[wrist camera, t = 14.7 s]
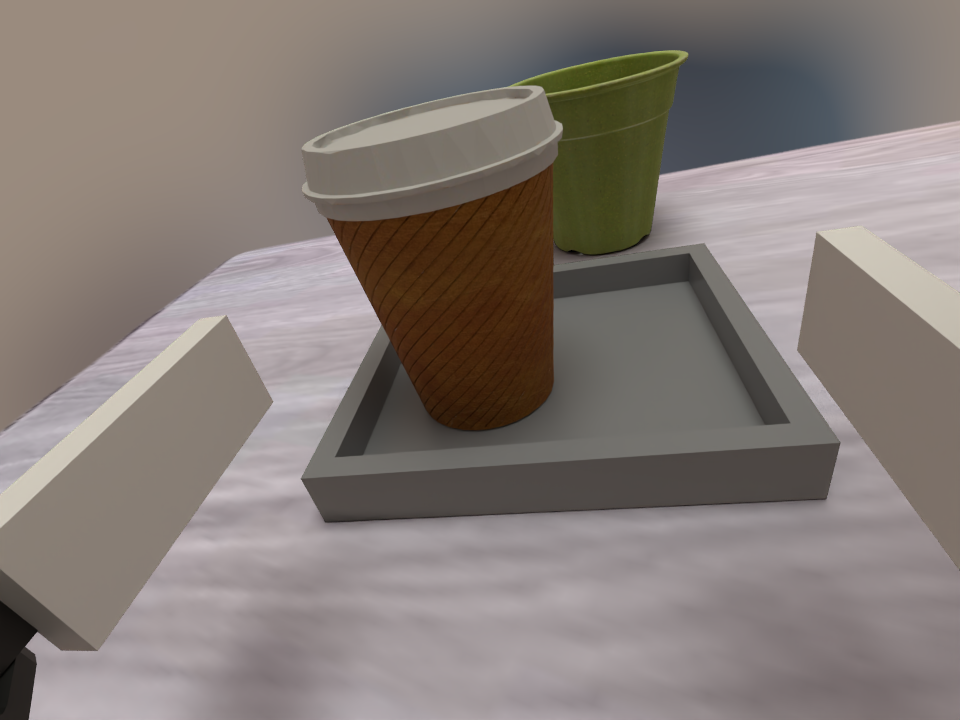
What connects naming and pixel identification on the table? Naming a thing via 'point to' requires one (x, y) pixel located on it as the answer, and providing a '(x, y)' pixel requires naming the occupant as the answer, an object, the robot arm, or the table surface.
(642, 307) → the serving tray
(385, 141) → the disposable coffee cup
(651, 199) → the plant pot
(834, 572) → the table surface
